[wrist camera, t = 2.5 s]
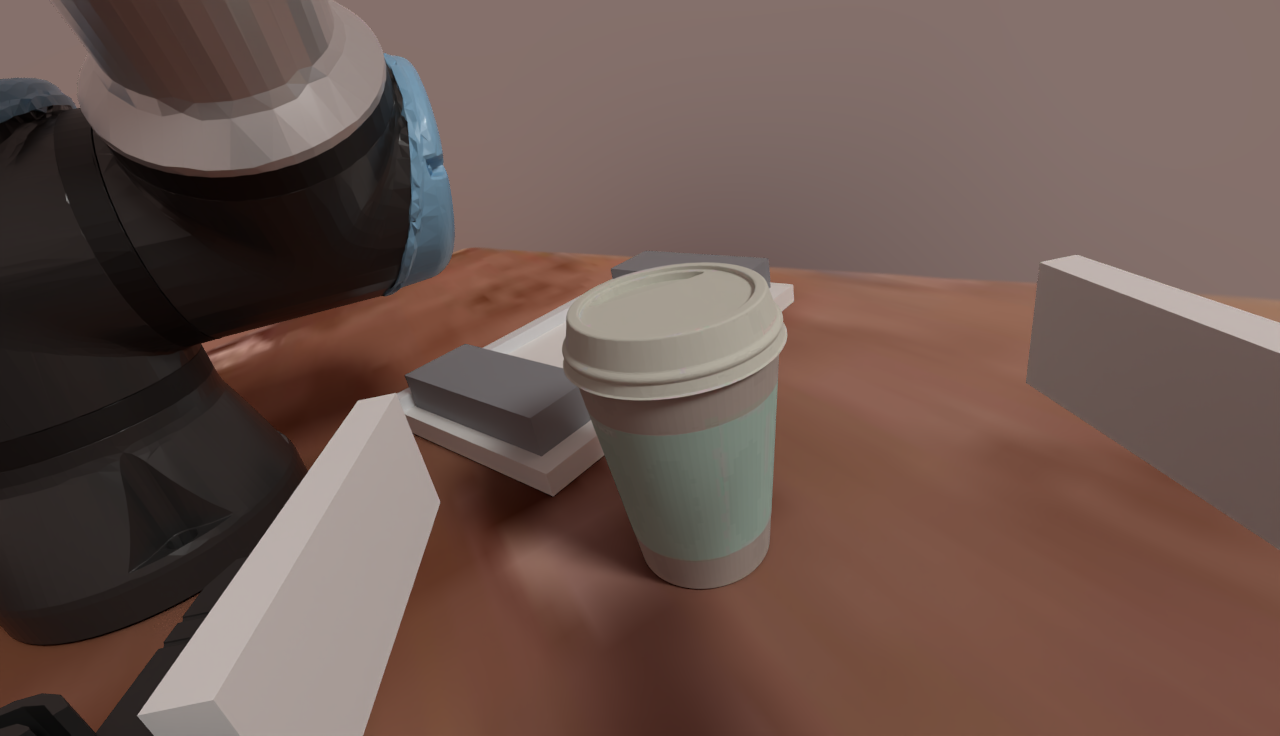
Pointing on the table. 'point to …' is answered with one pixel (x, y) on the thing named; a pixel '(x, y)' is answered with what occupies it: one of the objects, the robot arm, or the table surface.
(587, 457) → the rail plate
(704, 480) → the coffee cup
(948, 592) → the table surface
